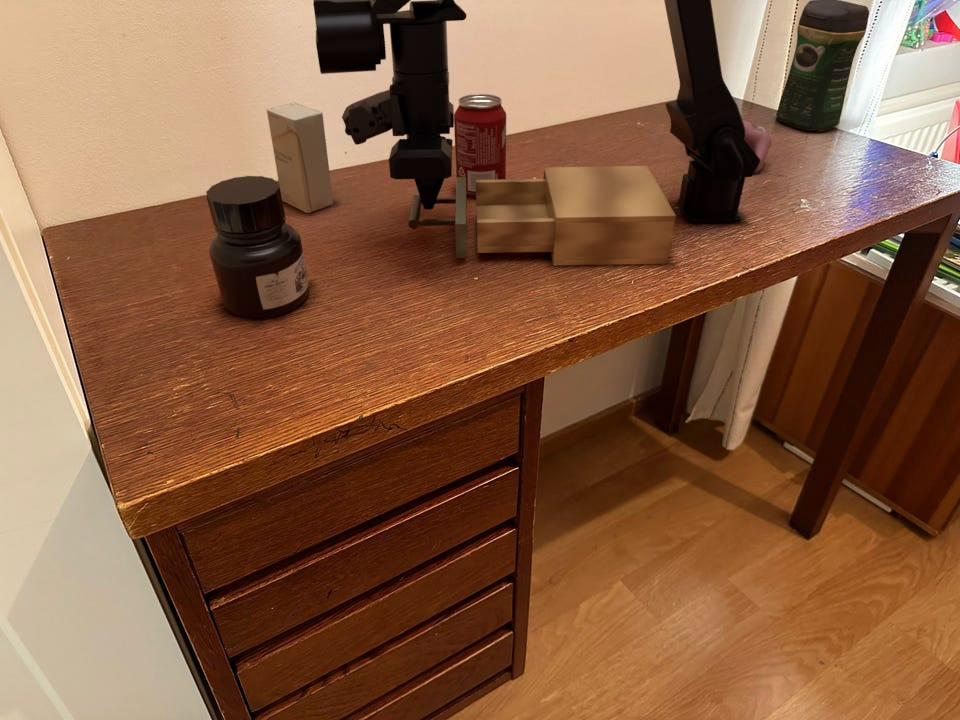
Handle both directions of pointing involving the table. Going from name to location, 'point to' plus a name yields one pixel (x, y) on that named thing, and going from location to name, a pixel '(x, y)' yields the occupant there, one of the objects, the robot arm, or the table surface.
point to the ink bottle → (255, 248)
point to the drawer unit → (609, 216)
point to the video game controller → (757, 141)
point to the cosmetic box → (301, 156)
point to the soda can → (480, 139)
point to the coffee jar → (822, 63)
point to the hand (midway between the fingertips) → (428, 208)
